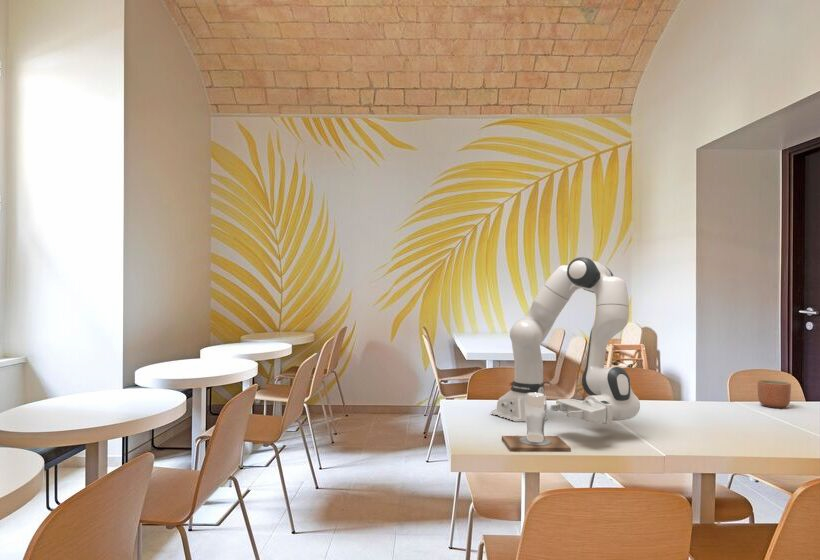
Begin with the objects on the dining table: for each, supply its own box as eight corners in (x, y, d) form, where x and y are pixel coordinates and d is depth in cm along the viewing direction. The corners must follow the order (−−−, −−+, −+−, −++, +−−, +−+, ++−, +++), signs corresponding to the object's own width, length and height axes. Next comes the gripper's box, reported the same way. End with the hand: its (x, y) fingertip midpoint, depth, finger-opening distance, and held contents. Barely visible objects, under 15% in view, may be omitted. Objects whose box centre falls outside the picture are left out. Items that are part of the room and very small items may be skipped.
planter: (797, 410, 242) (797, 384, 242) (768, 409, 242) (768, 384, 242) (779, 404, 254) (779, 379, 254) (751, 403, 254) (751, 379, 254)
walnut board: (510, 451, 174) (510, 446, 174) (501, 439, 188) (501, 434, 188) (570, 451, 175) (570, 446, 175) (557, 439, 189) (557, 435, 189)
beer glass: (521, 437, 185) (522, 392, 185) (542, 437, 185) (542, 392, 186) (527, 443, 178) (528, 396, 178) (549, 443, 178) (549, 396, 179)
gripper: (576, 393, 199) (542, 395, 195) (614, 405, 179) (577, 407, 175) (576, 411, 199) (542, 413, 194) (614, 425, 179) (577, 427, 175)
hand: (559, 411), depth 185 cm, fingers open, 8 cm apart
